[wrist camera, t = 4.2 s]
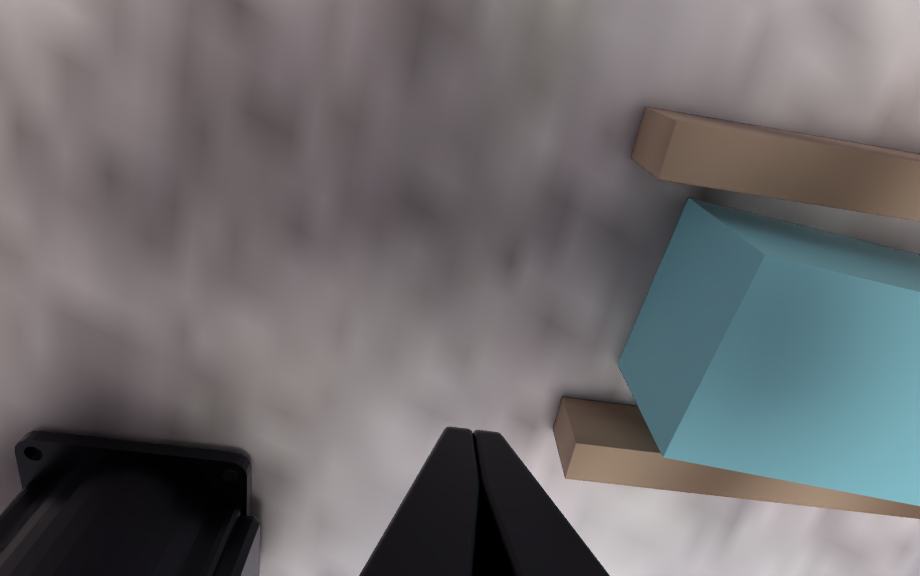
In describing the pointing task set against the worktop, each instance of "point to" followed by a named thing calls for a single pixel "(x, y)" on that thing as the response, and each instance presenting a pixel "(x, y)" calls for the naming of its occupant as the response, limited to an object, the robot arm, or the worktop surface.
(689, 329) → the block
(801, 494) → the guide channel
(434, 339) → the worktop surface
